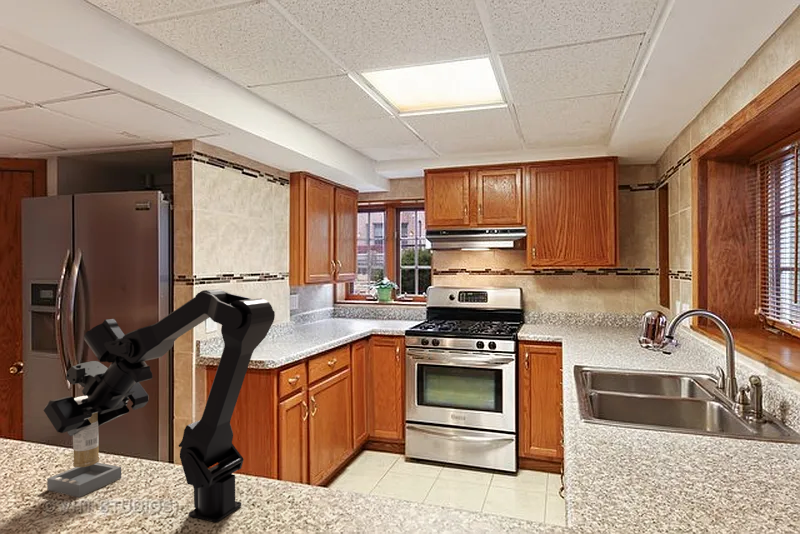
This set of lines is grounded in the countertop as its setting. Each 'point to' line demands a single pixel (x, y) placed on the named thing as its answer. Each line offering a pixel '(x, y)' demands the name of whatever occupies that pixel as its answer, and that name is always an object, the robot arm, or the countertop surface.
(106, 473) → the dish
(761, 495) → the countertop surface
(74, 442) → the sprinkles bottle
